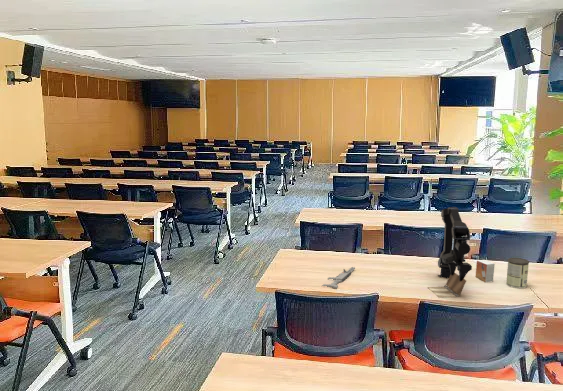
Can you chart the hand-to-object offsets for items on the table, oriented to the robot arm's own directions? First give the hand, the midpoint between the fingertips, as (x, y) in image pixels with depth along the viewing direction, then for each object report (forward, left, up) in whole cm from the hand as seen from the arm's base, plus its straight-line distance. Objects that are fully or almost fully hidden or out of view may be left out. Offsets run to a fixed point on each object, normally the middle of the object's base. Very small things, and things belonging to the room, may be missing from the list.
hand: (456, 278), depth 253 cm
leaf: (0, 0, -4) cm, 4 cm away
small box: (-18, +26, -8) cm, 33 cm away
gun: (-30, -54, -9) cm, 63 cm away
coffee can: (-8, +39, -8) cm, 41 cm away
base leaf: (0, -7, -8) cm, 11 cm away
